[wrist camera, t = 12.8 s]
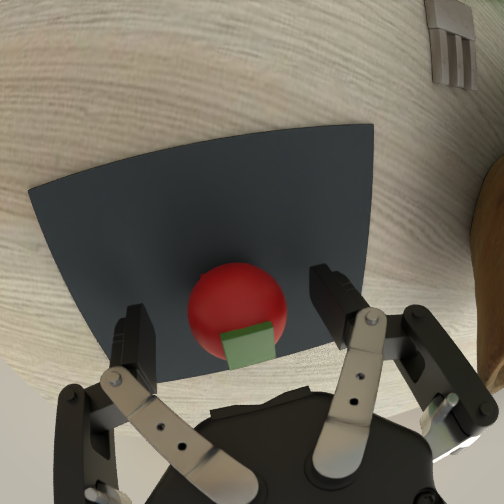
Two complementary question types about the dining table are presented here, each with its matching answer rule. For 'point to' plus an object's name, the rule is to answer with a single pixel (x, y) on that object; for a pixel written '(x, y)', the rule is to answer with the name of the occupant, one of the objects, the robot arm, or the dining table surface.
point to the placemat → (211, 230)
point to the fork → (452, 43)
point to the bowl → (490, 277)
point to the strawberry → (237, 314)
